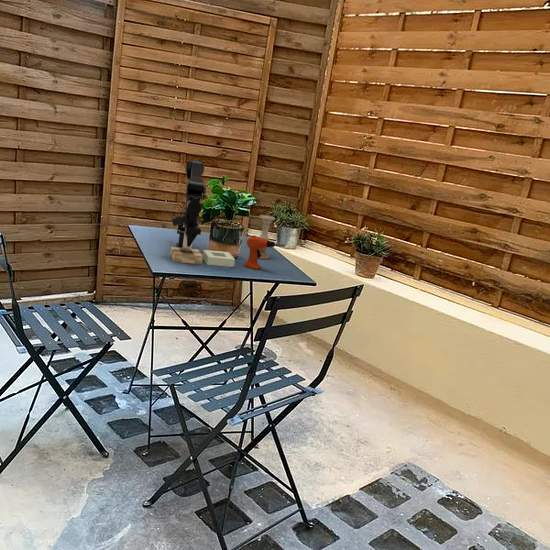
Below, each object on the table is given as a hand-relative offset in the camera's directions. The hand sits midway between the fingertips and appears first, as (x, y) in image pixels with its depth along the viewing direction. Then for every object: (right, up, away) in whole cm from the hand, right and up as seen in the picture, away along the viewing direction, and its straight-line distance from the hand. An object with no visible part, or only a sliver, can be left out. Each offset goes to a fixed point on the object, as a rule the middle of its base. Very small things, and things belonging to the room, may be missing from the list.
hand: (187, 245), depth 237 cm
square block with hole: (+12, -7, +7) cm, 16 cm away
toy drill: (+32, -11, +7) cm, 34 cm away
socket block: (-1, -6, +2) cm, 6 cm away
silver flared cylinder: (-1, -5, +1) cm, 5 cm away
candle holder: (+31, -4, +31) cm, 44 cm away
